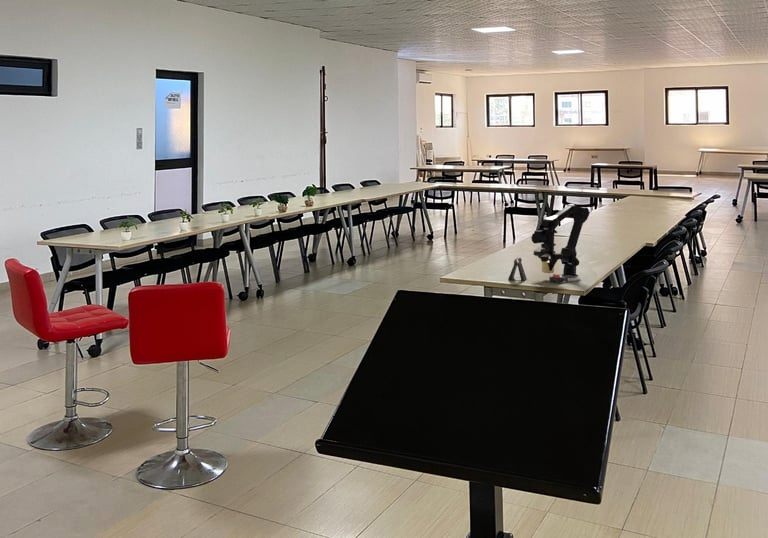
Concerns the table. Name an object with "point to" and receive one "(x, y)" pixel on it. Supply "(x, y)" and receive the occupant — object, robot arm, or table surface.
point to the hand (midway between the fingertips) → (547, 269)
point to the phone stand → (521, 271)
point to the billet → (546, 267)
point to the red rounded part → (556, 275)
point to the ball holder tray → (563, 279)
